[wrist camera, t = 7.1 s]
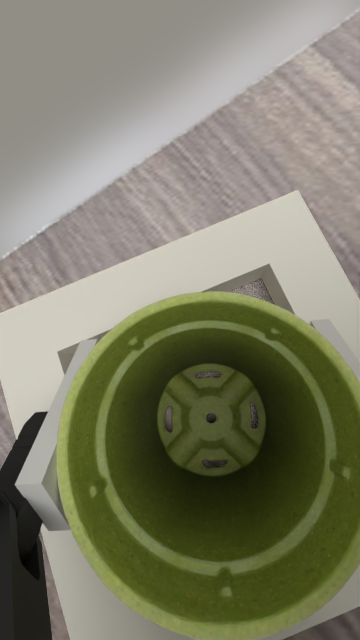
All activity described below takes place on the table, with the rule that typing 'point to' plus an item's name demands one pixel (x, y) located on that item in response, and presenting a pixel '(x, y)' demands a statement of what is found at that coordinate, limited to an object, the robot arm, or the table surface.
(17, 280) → the table surface
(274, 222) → the well board
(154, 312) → the plant pot
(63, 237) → the table surface
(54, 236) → the table surface
